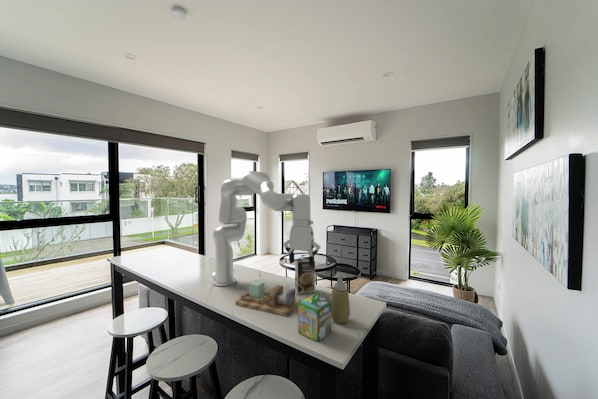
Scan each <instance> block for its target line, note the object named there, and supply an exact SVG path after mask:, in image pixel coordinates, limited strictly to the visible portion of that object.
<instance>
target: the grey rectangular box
mask: <svg viewBox="0 0 598 399" xmlns="http://www.w3.org/2000/svg"><path fill="white" fill-rule="evenodd" d="M295 299H296V291H295V288H291V289H289V290H288V291H287V292H283V293H281V292H278V293H277V294H276V303H279V304H283V305H286V307H290V306H291V305H292V304H293V303H294V302H295Z"/></svg>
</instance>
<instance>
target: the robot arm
mask: <svg viewBox="0 0 598 399" xmlns="http://www.w3.org/2000/svg"><path fill="white" fill-rule="evenodd" d="M274 186H275V185H274V183H273V181H271V178H270V175H269V174H268V173H266V172H264V171H255V170H252V171H247V172H245V173H243V176H242V178H241V179H239V178H238V179H237V178H232V179H231V178H230V179H226V180H224V181H223V182H222V184H221V187H220V198H221V200H220V204H219V205H220V206H219V212H218V221H219V223H220V224H221V226H218V227H216V228H215V229H214V230H213V233H212V238H213V242H214V254H215V255H214V256H215V257H214V259H215V264H214V266H215V267H214V268H215V272H212V274H211V275H210V277H211V278H213V280H212V285H214V286H217V287H226V286H230V285H234V284H235V283H236V282H237V279H236V277H234V249H233V247H232V246H231V244H230V243H233V242H239V241H240V240H242V239H243V237H244V235H245V231H246V230H245V229H246V225H247V220H248V219H247V218H248V216H247V215H248V214H247V211H246V209H245V208H243V207H242V206H237V205H238V199H237V196H252V195H255V194H257V195H259V197H260V200H261V202H262V204H264V205H265V206H266V207H267V208H269V209H270V210H273V211H274V212H287V211H292V225H291V228H290V232H289V238H288V240H286V241H285V242H284V243H283V247H284V248H285V251H286V252H287V254H288V260H289V264H291V265H292V264H293V263H295V253H294V252H295V251H300V252H301V251H303V252H308V254H309V256H308V259H309V266H312V265H313V264H314V261H315V256H316V254H317V253H318V252H319V251H320V249H321V245H319V244H318V243H317V242H315V235H314V228H313V226H311V225H314V221H313V220H312V218H311V196H310V194H305V193H300V194H299V193H298V194H295V193H277V192H276V191H274ZM314 248H315V249H314Z"/></svg>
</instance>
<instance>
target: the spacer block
mask: <svg viewBox="0 0 598 399" xmlns="http://www.w3.org/2000/svg"><path fill="white" fill-rule="evenodd" d="M248 286H249V290H248V291H249V297H251V298H256V299H262V298H263V297H264V292H265V281H262V280H254V281H252V282H250V283H249V285H248Z"/></svg>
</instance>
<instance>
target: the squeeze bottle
mask: <svg viewBox="0 0 598 399" xmlns="http://www.w3.org/2000/svg"><path fill="white" fill-rule="evenodd" d="M342 276H343V275H341V274H340V275H338V277H337V281H336V283H334V285H333V289H332V290H331V294H330V295H331V296H330V297H331V298H330V301H332V322H333V323H336V324H341V325H342V324H346V323H347V322H348V320H349V317H350V315H351V309H350V299H349V298H350V295H349V291H348V290H347V286H346V284H345V283H344V282H343V277H342Z"/></svg>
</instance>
